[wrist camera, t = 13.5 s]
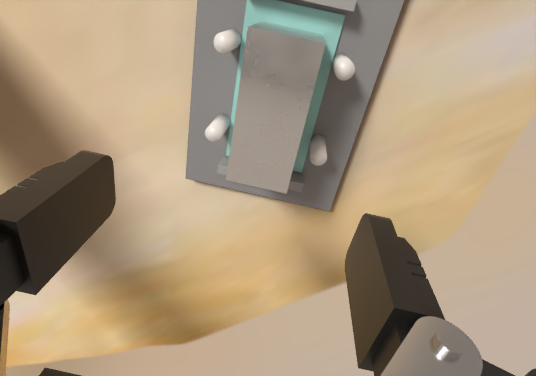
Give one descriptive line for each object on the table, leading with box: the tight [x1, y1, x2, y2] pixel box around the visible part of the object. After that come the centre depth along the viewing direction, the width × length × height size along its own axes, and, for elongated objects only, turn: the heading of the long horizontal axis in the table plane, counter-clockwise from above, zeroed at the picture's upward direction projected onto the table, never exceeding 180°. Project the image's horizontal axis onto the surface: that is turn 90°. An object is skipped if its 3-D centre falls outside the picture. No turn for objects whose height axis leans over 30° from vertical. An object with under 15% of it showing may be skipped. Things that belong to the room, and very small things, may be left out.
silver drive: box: [226, 21, 326, 194], centre depth 21 cm, size 4×9×6 cm, turn 169°
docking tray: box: [186, 0, 404, 211], centre depth 23 cm, size 13×18×4 cm
